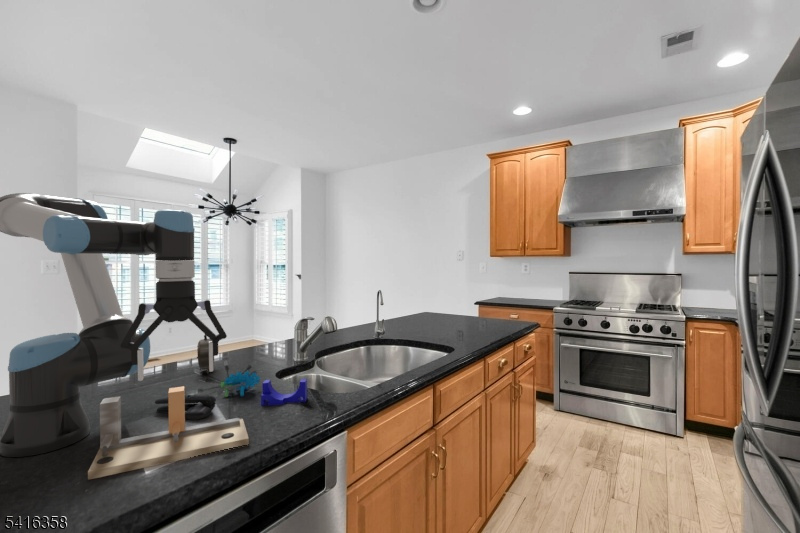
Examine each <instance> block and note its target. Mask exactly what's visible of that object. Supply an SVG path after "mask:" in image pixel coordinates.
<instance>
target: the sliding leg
mask: <svg viewBox="0 0 800 533" xmlns="http://www.w3.org/2000/svg"><path fill="white" fill-rule="evenodd" d="M185 392H186V391H185V385H183V386H175V387H169V388H168V396H167V397H168V404H167V405H169V413H168V430H169V434H170V433H172V436H173V442H174V443H176V442H178V435H179V432H181V431H185V427H186V426H185V425H186V418H185V412H186V411H185V404H186V403H185V395H186V394H185Z"/></svg>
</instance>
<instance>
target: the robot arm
mask: <svg viewBox="0 0 800 533" xmlns="http://www.w3.org/2000/svg"><path fill="white" fill-rule="evenodd" d="M195 231H196V230H195V227H194V216H193V214H192V213H191V212H189V211H187V210H178V209H159V210H157V211H156V212H155V214H154V219H153V221H137V220H133V221H132V220H124V219H122V220H121V219H120V220H119V219H111V218H109V219H108V216H107V213H106V211H105V209H104V208H103V207H102V206H101V205H100V204H99V203H98V202H96V201H93V200H87V199H84V198H69V197H63V196H54V195H48V194H39V193H31V192H19V193H18V192H17V193H10V194H6V195H3V196H0V233H2V234H5V235H8V236H12V237H16V238H17V237H19V238H21V237H22V238H24V237H25V238H30V239H31V238H32V239H34V240H38V241H40V242H43V243H44V245H45V246H46V248H47V249H48V250H49V251H50V252H52V253H57V254H59V253H60V255H61V258H62V261H63V264H64V269H65V272H66V275H67V277H68V281H69V285H70V287H71V291H72V295H73V297H74V301H75V304H76V307H77V308H76V309H77V311H78V314H79V318H80V321H81V324H82V327H83V328H82V329H81V330H80V331H79V332H78V333H76V332H64V333H58V334H50V335H45V336H39V337H36V338H33V339H29V340H26V341H23V342H21V343H18V344H17V345H15V346H14V347H13V348H12V349H11V350H10V352H9V358H8V359H9V360H8V366H7V372H8V381H9V382H8V387H9V390H8V392H9V414H8V417H7V420H6V423H5V425H4V428H3V431H2V433H1V436H0V456H2V457H6V458H20V457H21V458H22V457H30V456H35V455H41V454H45V453H49V452H54V451H56V450H59V449H62V448H65V447H69V446H70V445H73V444H75V443H77V442H79V441H81V440H83V439H84V438H86V437H87V436H88V435H89V434H90V433H91V422H90V419H89V416H88V415H87V412H86V411H85V409H84V407H83V404H82V401H81V388H82V387H86V386H89V385H94V384H98V383H103V382H106V381H110V380H114V379H115V380H116V379H120V378H126V377H127V376H130V375H134V374H137V382H141V381H142V382H143V380H144V378H145V374H144V368H145V366H146V365H147V363H149V362H148V361H149V358H150V354H151V341H150V340H151V339H150V337H149V336H150V335H152V334H153V332H155V330H156V329H157V328H158V327H159V326H160V325H161V324H162V323H163V321H164V322H166V323H174V322H186V321H187V320H189V321H190V322H192V323H193V324H194V325H195V326H196V327H197V328H198V329H199V330H200V331H201V332H202V333H203V334H204V335H205V334H206V335H207V338H208V339H211V340H212V341H209V372H210V373H211V372H214V368H213V356H214V357H216V356H218V355H219V342H220V341H221V340H224V339H226V338H227V337H228V335H227V333H226V331H225V330H224V328H223V327H222V325H221V323H220V322H219V319H218V318H217V316H216V315H215V313H214V311H213V310H212V305H211V301H210V300H209V299H205V300H200V301H197V300H196V287H195V286H196V282H195V280H193V279H194V278H195V275H196V271H195ZM103 254H107V255H108V254H110V255H136V256H149V255H150V256H151V255H155V279H156V280H158V281H157V282H155V302H154V303H146V302H141V303H140V304H139V305H138V310H137V315H136V317H135V319H134V320H132V319H130V318H128V317H124V314H123V311H122V309H121V306H120V302H119V299H118V297H117V293H116V291H115V288H114V285H113V284H114V283H113V281H112V279H111V276H110V272H109V269H108V268H107V263H106V260H105V258H104V255H103ZM198 307H200V309H201V310H203V311H205V313H206V314H207V317H208V318H209V319H210V321H211V323H212V325H213V326H214V328H215V329H216V331H217V333H218V334H216V333H215V332H213V331H212V330H211V329H210V328H209V327H208V325H206V324H205V323H204V322H202V320H200V319H199V318H198V317H197V315H195V314H194V312H195V311H196V309H197V308H198ZM152 310H154V312H155V313H157V314H158V316H157V318H155V320H154V321H153V322H152V323H151V324H150V325H149V326H148V327H147V329H146V330H145V329H142V328H139V327H140V325H141V323H142V322H143V320H144V318H145V316H146V314H149V313H150V312H151V311H152Z"/></svg>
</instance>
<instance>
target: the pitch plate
mask: <svg viewBox="0 0 800 533" xmlns="http://www.w3.org/2000/svg"><path fill="white" fill-rule="evenodd" d="M121 397H122V396H113V397H112V396H111V397H105V398H102V400H101V402H100V403H99V445H100V446H99V449H98V451H97V453H96V455H95V457H94V459H93V461H92V463H91V465H90V467H89V469H88V470H87V480H88V481H89V480H93V479H98V478H99V479H100V478H103V477H107V476H112V475H117V474H122V473H125V472H131V471H136V470H139V469H144V468H148V467H154V466H159V465H162V464H163V463H164V464H167V463H172V462H176V461H182V460H186V459H187V460H188V459H190V457H191V458H195V457H194V456H196V457H199V456H198V455H201V456H203V455H202V454H205V455H208V454H207V453H210V454H212V453H211V452H215V451H219V452H221V451H220V450H224V449H228V450H230V449H229V448H233V447H238V446H242V445H247V446H249V445H250V440H249V439H250V438H249V434H248V431H247V428H246V425H245V422H244V419H243V418H240V417H234V418H229V419H224V420H219V421H213V422H207V423H202V424H201V423H200V424H196V425H191V426H185V431H181V432H179V435H178V442H176V443H174V442H173V436H172V433H170V434H169V429H168V430H163V431H159V432H152V433H148V434H141V435H136V436H130V437H125V438H122V399H121ZM248 444H249V445H248ZM242 447H243V446H242ZM238 448H239V447H238ZM233 449H234V448H233ZM224 451H225V450H224ZM215 453H216V452H215Z"/></svg>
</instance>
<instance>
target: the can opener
mask: <svg viewBox="0 0 800 533" xmlns="http://www.w3.org/2000/svg"><path fill="white" fill-rule="evenodd" d="M216 402H217V400H216V396H214V395H211V394H210V393H209V394H195V393H190V394H185V420H193V421H194V420H195V421H196V420H200V419H204V418H205V417H208V416H210V415H211V414H212V412H213V410H214V408H215V407H216ZM154 404H156V405H161V406H159V407H158V408H157V409H156V412H157V413H164V414H165V413H168V414H169V404H168V396H165V397H160V398H157V399H155V401H154ZM166 404H167V405H166Z"/></svg>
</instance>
